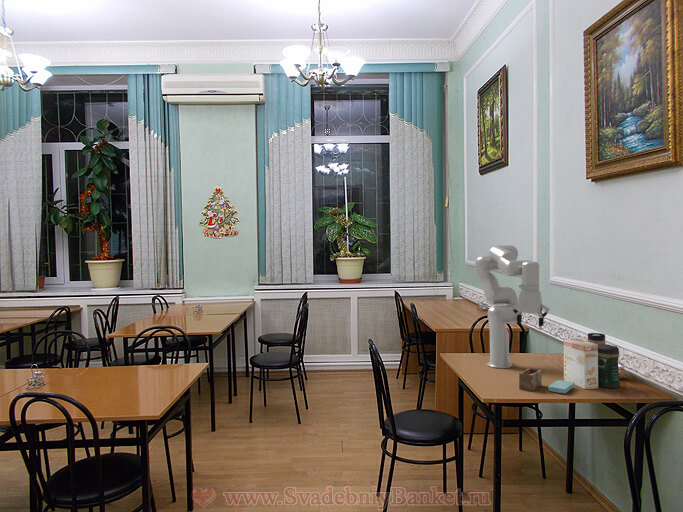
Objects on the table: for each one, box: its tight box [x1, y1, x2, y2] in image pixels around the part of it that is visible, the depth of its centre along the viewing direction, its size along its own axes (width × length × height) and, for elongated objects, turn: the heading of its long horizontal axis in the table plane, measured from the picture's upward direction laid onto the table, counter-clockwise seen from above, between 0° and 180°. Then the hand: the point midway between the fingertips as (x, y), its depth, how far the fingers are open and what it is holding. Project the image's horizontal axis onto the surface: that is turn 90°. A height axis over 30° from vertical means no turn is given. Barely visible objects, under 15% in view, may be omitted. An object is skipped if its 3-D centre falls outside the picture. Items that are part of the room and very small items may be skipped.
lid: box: [547, 379, 575, 394], centre depth 216 cm, size 13×7×3 cm, turn 139°
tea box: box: [518, 367, 543, 392], centre depth 221 cm, size 12×6×7 cm, turn 140°
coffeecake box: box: [563, 338, 599, 390], centre depth 224 cm, size 15×7×20 cm, turn 10°
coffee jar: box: [598, 343, 621, 389], centre depth 221 cm, size 10×8×19 cm
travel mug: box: [587, 332, 606, 344], centre depth 238 cm, size 8×8×20 cm
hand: (530, 324), depth 230 cm, fingers open, 9 cm apart
